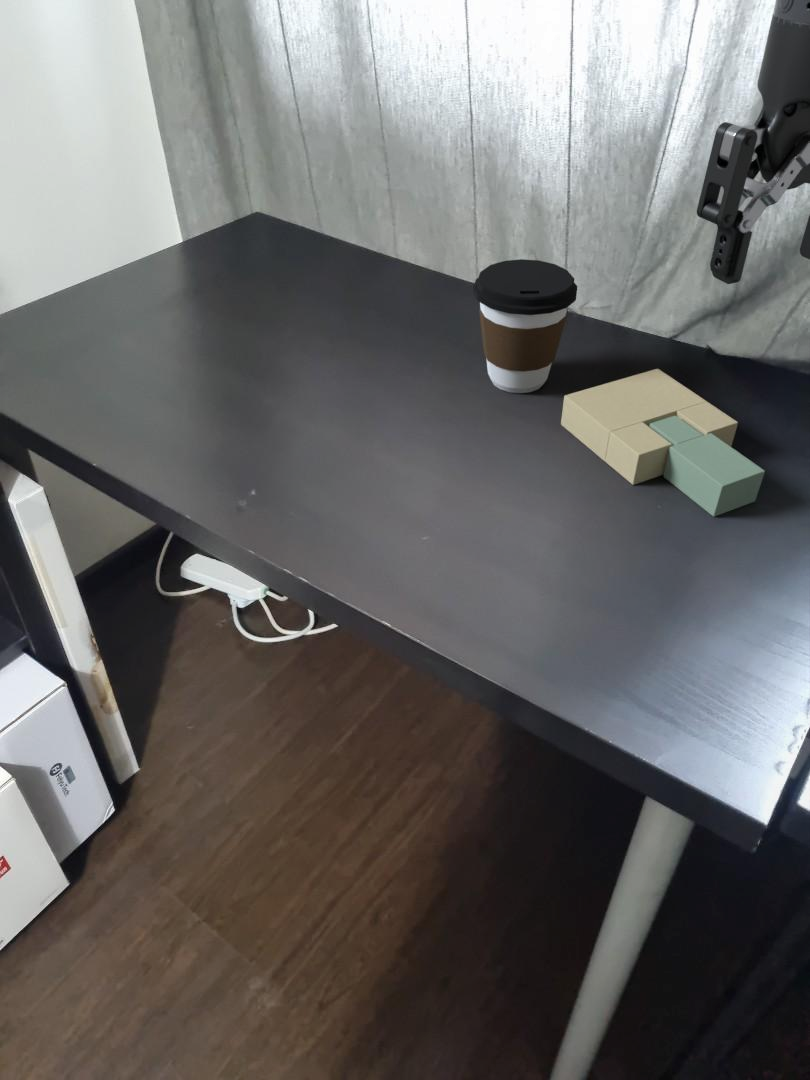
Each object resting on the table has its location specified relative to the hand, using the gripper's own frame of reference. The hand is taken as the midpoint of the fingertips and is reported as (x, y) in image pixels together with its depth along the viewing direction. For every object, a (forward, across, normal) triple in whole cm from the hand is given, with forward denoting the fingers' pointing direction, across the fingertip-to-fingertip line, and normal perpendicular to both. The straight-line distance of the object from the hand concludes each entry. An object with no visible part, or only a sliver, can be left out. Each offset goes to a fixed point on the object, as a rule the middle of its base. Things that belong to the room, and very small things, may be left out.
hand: (770, 268), depth 61 cm
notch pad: (+22, +2, +12) cm, 26 cm away
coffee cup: (+22, -3, +28) cm, 36 cm away
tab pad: (+22, +2, +4) cm, 23 cm away
